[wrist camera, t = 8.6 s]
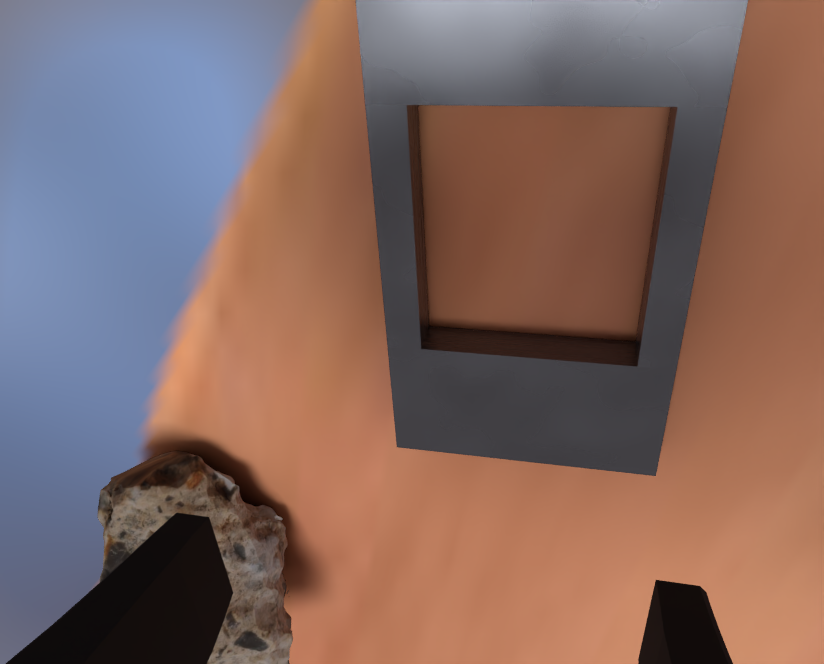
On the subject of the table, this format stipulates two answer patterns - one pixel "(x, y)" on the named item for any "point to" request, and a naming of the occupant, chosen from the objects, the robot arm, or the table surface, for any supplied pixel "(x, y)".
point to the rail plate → (543, 86)
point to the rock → (236, 536)
